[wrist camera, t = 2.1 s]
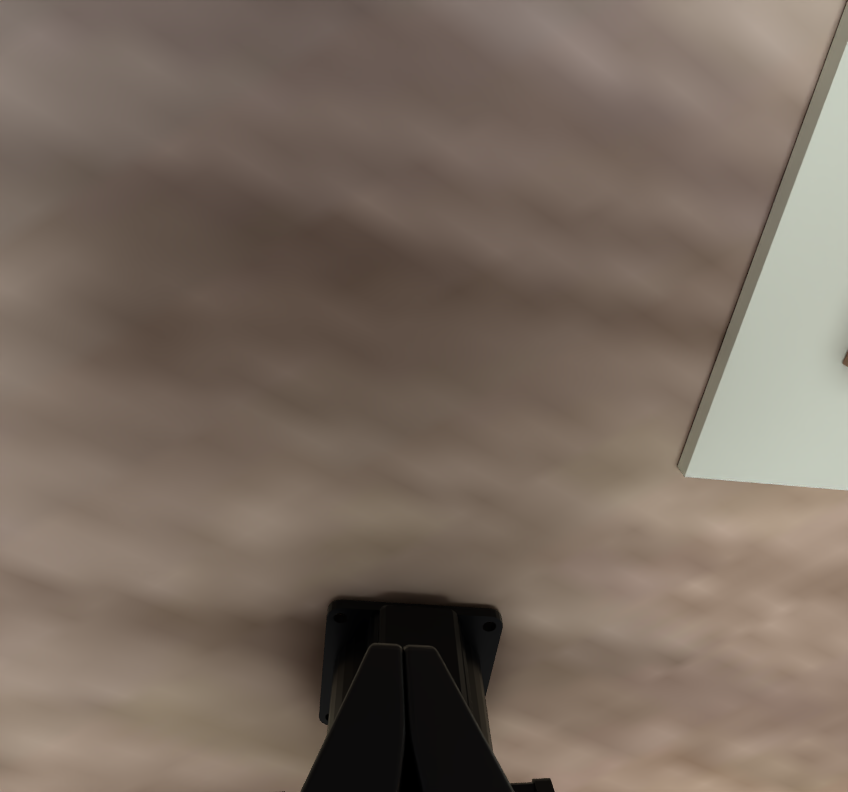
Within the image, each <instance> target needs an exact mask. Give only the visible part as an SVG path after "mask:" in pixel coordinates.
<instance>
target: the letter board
mask: <svg viewBox="0 0 848 792" xmlns="http://www.w3.org/2000/svg"><path fill="white" fill-rule="evenodd" d="M847 353H848V1H847V4H846V6H845V9H844V12H843V15H842V17H841V20H840V23H839V26H838V28H837V31H836V34H835V37H834V39H833V42H832V45H831V48H830V50H829V53H828V56H827V58H826V61H825V64H824V67H823V69H822V72H821V75H820V78H819V80H818V83H817V86H816V89H815V91H814V94H813V97H812V100H811V102H810V105H809V108H808V110H807V113H806V116H805V119H804V121H803V124H802V127H801V130H800V132H799V135H798V138H797V141H796V143H795V146H794V149H793V152H792V154H791V157H790V160H789V163H788V165H787V168H786V171H785V173H784V176H783V179H782V182H781V184H780V187H779V190H778V193H777V195H776V198H775V201H774V204H773V206H772V209H771V212H770V215H769V217H768V220H767V223H766V225H765V228H764V231H763V234H762V236H761V239H760V242H759V245H758V247H757V250H756V253H755V256H754V258H753V261H752V264H751V267H750V269H749V272H748V275H747V277H746V280H745V283H744V286H743V288H742V291H741V294H740V297H739V299H738V302H737V305H736V308H735V310H734V313H733V316H732V319H731V321H730V324H729V327H728V329H727V332H726V335H725V338H724V340H723V343H722V346H721V349H720V351H719V354H718V357H717V360H716V362H715V365H714V368H713V371H712V373H711V376H710V379H709V381H708V384H707V387H706V390H705V392H704V395H703V398H702V401H701V403H700V406H699V409H698V412H697V414H696V417H695V420H694V423H693V425H692V428H691V431H690V433H689V436H688V439H687V442H686V444H685V447H684V450H683V453H682V455H681V458H680V461H679V464H678V466H677V467H678V468H679V470H680V471H681V472H682V474H683V475H684V477H693V478H705V479H717V480H729V481H741V482H753V483H765V484H777V485H789V486H801V487H813V488H825V489H837V490H848V367H847V366H845V365H844V364H842V363H843V361H844V359H845V357H846V355H847Z"/></svg>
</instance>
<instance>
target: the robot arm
mask: <svg viewBox="0 0 848 792" xmlns="http://www.w3.org/2000/svg"><path fill="white" fill-rule="evenodd" d="M337 613H344V615H340V614H337ZM486 622H491V623H486ZM502 628H503V623H502V618H501V615H500V613H499V612H498V611H496V610H494V609H487V608H471V607H454V606H438V605H421V604H405V603H388V602H372V601H355V600H336V601H334V602H332V603H331V604H330V605H329V607H328V612H327V622H326V634H325V647H324V660H323V673H322V685H321V698H320V711H319V719H320V721H321V722H322V723H324V724H326V725H328V730H327V736H326V739H325V741H324V743H323V745H322V747H321V749H320V751H319V753H318V756H317V758H316V760H315V762H314V764H313V766H312V768H311V770H310V772H309V775H308V777H307V779H306V781H305V783H304V785H303V787H302V789H301V792H555V791H554V788H553V785H552V782H551V779H550V778H542V779H532V782H529V783H509V781H508V779H507V777H506V775H505V774H504V772H503V770H502V768H501V766H500V764H499V763H498V761H497V759H496V757H495V755H494V753H493V749H492V742H491V735H490V728H489V721H488V714H487V707H486V700H485V696H486V692H487V688H488V684H489V680H490V676H491V672H492V668H493V664H494V660H495V656H496V652H497V648H498V644H499V640H500V636H501V632H502ZM284 792H285V791H284Z"/></svg>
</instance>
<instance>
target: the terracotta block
mask: <svg viewBox="0 0 848 792" xmlns="http://www.w3.org/2000/svg"><path fill="white" fill-rule="evenodd" d="M842 364H844V365H845V366H847V367H848V353H847V355H846V357H845V359H844V361H843V363H842Z"/></svg>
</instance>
